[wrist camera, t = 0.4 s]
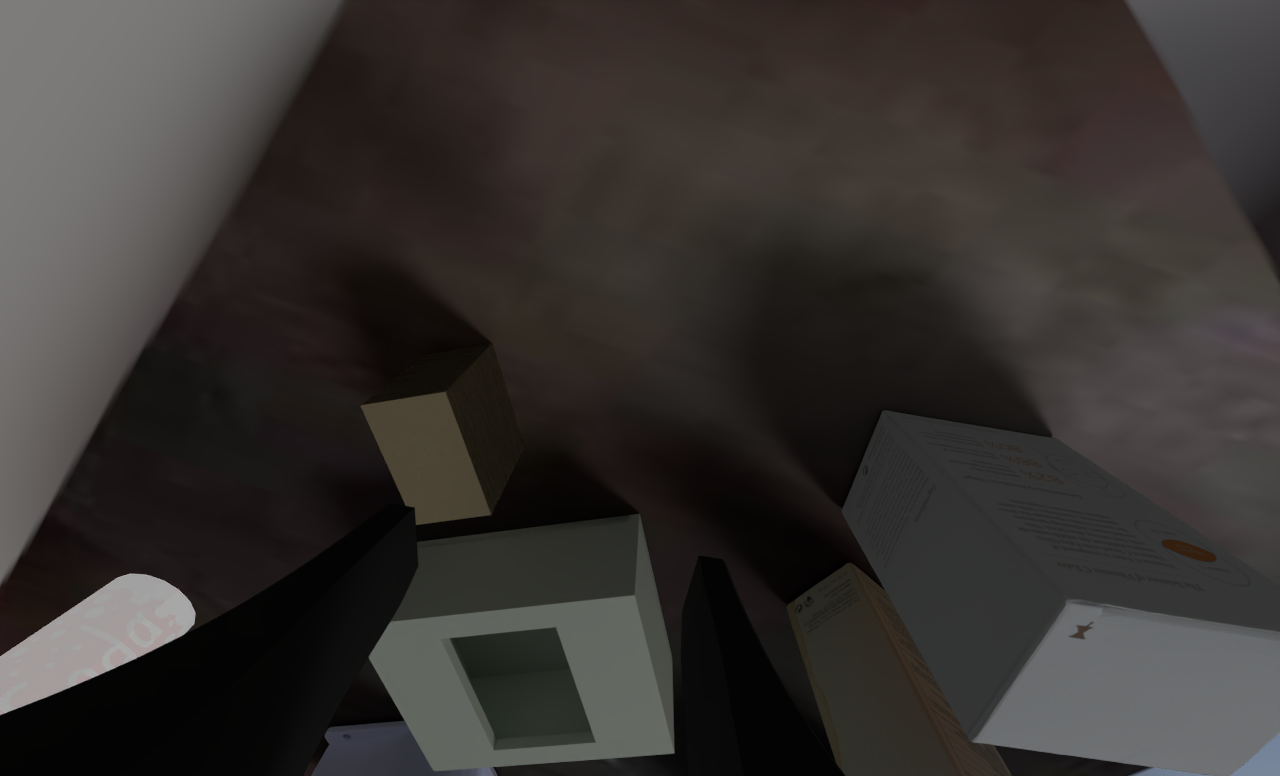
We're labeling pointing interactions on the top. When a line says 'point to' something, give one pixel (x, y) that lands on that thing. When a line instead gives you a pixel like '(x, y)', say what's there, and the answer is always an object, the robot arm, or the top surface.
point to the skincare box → (879, 686)
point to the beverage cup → (94, 638)
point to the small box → (1066, 600)
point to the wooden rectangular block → (448, 433)
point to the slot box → (532, 648)
